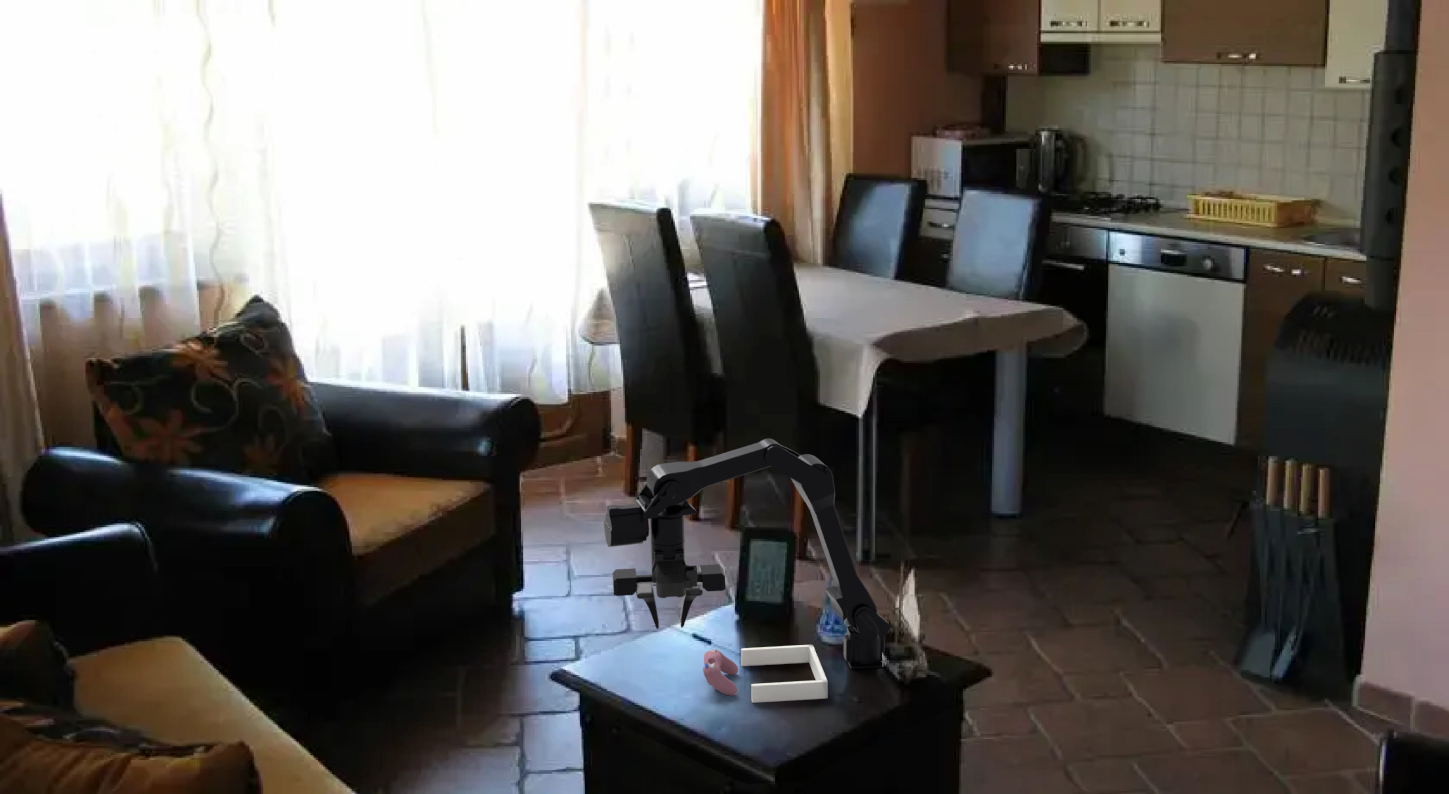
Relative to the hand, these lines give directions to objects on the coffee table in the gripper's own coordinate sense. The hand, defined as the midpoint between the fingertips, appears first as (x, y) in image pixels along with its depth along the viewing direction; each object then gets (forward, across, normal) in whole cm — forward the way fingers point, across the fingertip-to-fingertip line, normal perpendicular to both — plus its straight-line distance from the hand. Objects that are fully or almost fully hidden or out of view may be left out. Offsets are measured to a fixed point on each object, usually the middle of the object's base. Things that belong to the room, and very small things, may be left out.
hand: (669, 627), depth 255 cm
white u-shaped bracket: (+11, +19, 0) cm, 22 cm away
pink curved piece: (+11, +8, 0) cm, 14 cm away
